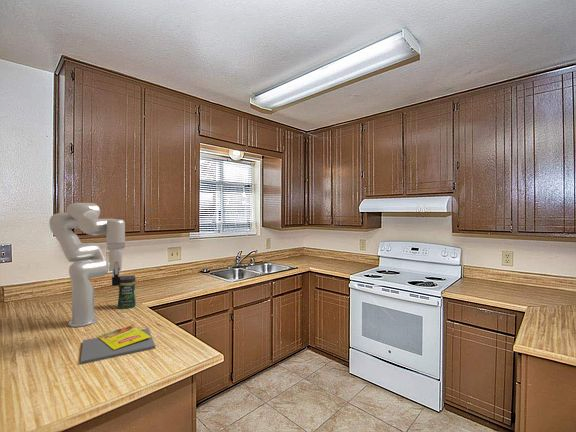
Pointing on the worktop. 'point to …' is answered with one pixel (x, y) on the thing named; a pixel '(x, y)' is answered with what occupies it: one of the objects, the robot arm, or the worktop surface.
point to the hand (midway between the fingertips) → (115, 285)
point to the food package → (123, 337)
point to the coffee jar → (127, 292)
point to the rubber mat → (100, 350)
